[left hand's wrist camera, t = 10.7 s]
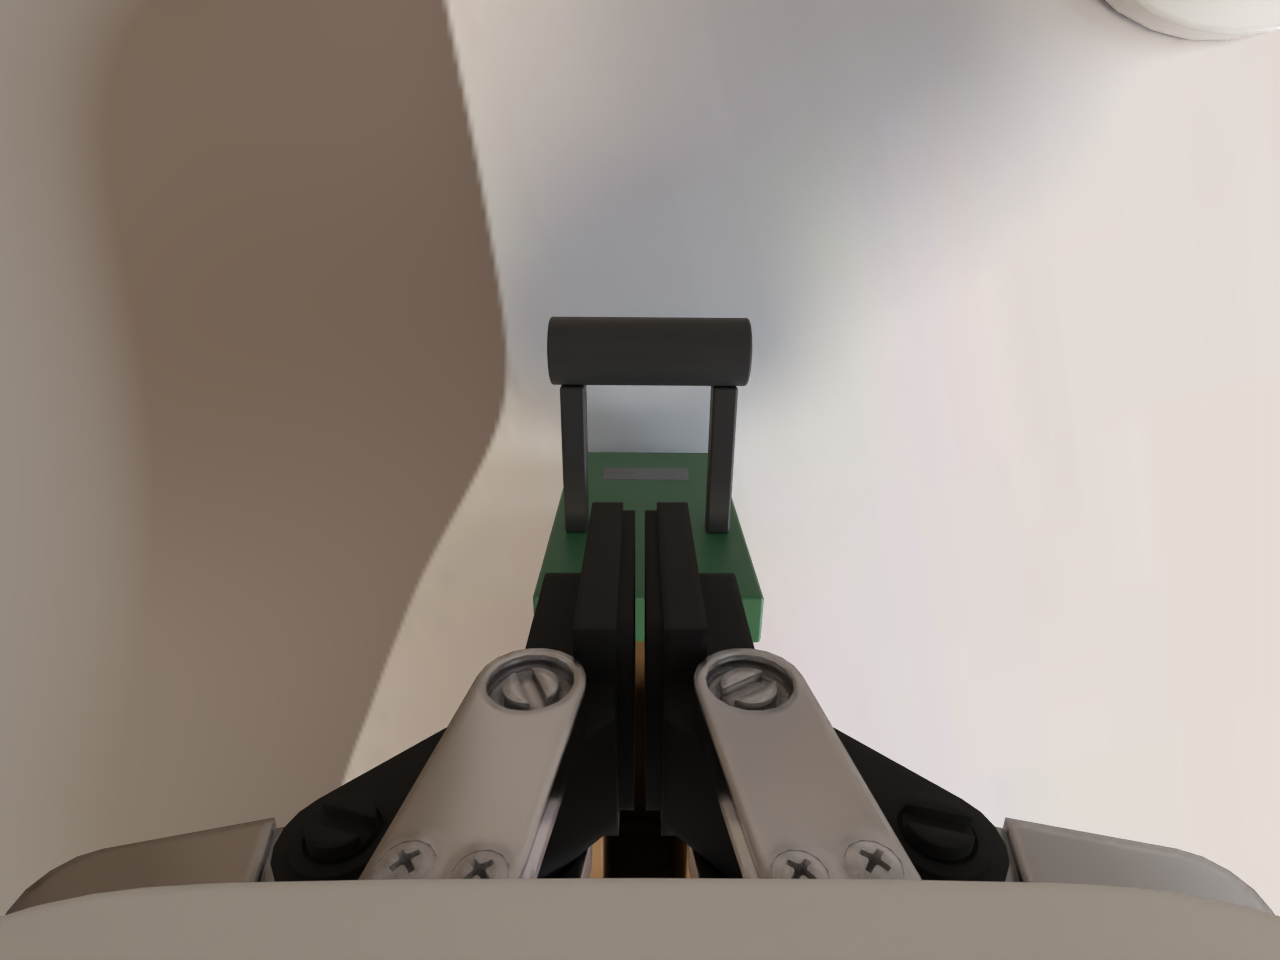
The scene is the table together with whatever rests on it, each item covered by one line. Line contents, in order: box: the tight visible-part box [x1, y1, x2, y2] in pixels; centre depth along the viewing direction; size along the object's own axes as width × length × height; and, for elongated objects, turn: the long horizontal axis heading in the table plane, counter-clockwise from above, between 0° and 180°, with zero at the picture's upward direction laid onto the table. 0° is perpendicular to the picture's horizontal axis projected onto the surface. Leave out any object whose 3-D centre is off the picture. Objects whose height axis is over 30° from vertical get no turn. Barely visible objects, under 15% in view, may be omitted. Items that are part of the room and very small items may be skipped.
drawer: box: [533, 317, 764, 878], centre depth 22 cm, size 22×5×10 cm, turn 0°
